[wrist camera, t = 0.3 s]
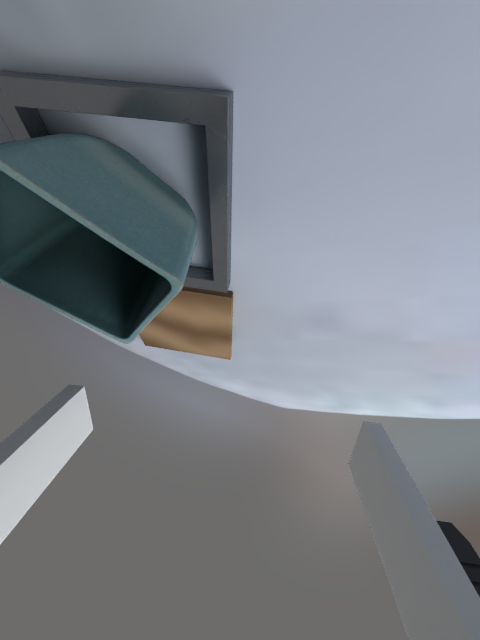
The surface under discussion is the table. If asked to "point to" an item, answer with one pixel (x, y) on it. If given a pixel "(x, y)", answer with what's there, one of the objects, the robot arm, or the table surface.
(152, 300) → the flower pot
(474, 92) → the table surface
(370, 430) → the robot arm
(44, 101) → the metal collar
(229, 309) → the walnut board
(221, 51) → the table surface
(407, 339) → the table surface
